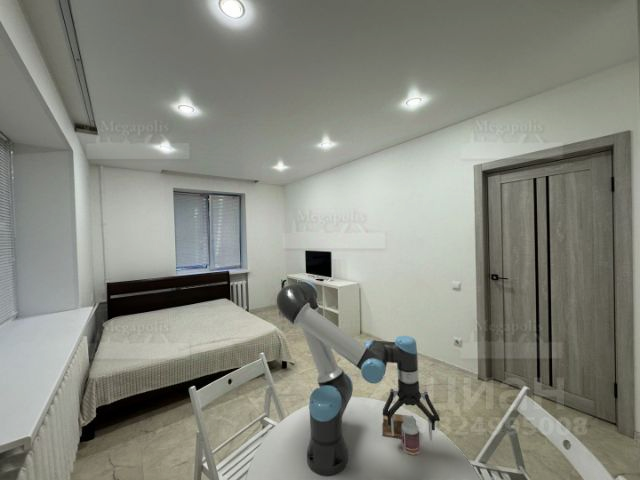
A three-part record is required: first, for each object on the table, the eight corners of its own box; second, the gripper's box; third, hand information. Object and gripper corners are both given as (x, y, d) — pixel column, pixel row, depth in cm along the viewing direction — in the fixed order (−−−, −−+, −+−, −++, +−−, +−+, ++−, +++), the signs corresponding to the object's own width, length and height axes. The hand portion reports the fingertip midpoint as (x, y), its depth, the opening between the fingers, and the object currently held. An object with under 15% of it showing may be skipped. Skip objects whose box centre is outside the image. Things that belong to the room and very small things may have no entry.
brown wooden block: (382, 436, 106) (381, 421, 106) (382, 424, 113) (382, 410, 113) (416, 440, 103) (415, 425, 103) (414, 428, 110) (414, 413, 110)
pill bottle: (423, 450, 99) (421, 420, 99) (412, 458, 95) (411, 427, 95) (409, 440, 104) (408, 412, 104) (398, 447, 100) (397, 418, 100)
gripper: (373, 382, 99) (377, 438, 99) (446, 387, 93) (449, 447, 93) (374, 372, 106) (377, 425, 106) (441, 376, 100) (445, 432, 100)
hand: (411, 435), depth 99 cm, fingers open, 13 cm apart
